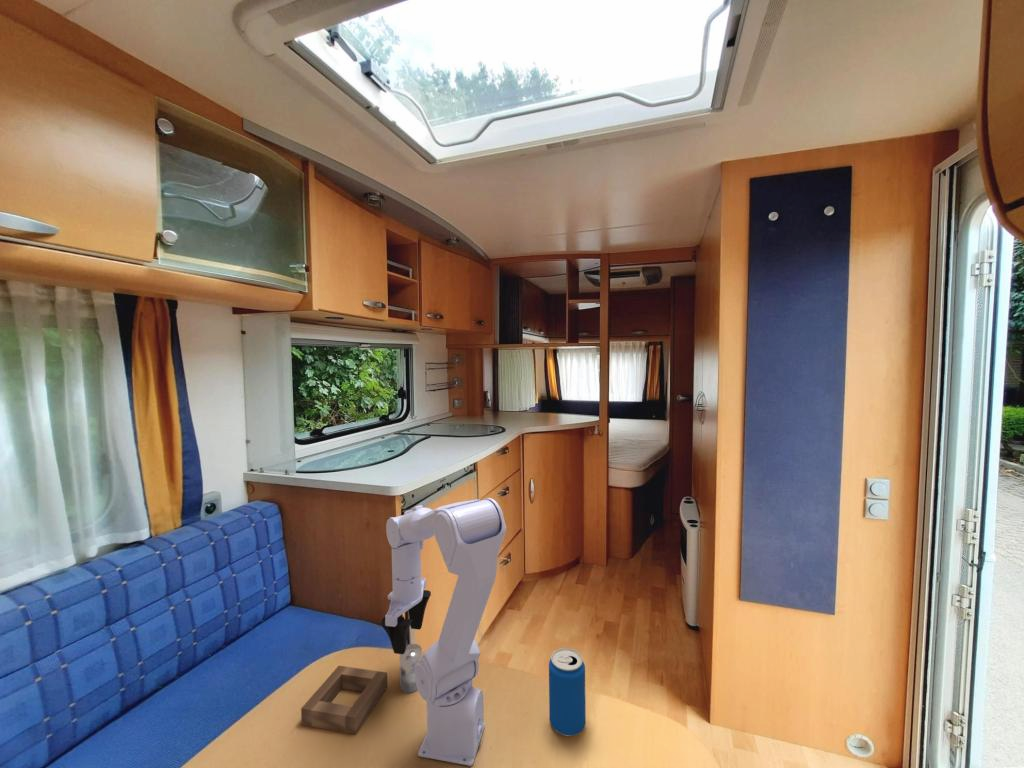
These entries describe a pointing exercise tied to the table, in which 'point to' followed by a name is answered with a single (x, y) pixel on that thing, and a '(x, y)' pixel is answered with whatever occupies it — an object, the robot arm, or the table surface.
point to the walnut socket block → (343, 716)
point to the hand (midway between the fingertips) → (408, 639)
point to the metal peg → (409, 667)
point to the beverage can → (567, 692)
